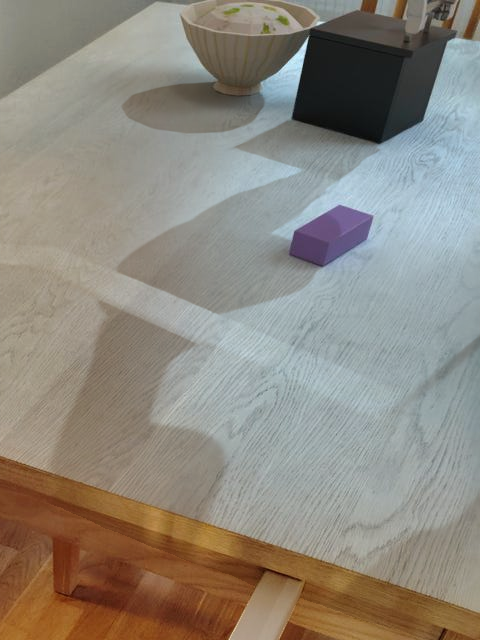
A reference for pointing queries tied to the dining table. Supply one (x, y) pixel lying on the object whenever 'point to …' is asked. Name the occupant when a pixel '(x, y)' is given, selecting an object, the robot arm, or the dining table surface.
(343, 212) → the purple rectangular block
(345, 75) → the bin
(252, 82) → the bowl
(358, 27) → the bin lid
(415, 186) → the dining table surface
